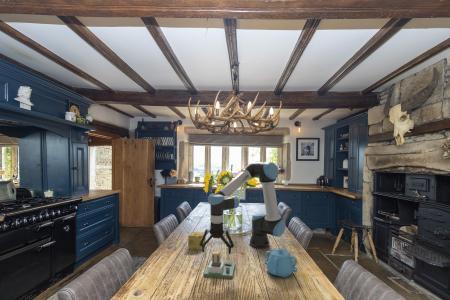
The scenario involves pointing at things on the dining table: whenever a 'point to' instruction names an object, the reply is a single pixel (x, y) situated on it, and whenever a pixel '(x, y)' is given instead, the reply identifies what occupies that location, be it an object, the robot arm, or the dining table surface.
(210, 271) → the header board
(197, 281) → the dining table surface
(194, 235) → the cheese
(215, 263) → the plug
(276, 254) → the decorative pot
